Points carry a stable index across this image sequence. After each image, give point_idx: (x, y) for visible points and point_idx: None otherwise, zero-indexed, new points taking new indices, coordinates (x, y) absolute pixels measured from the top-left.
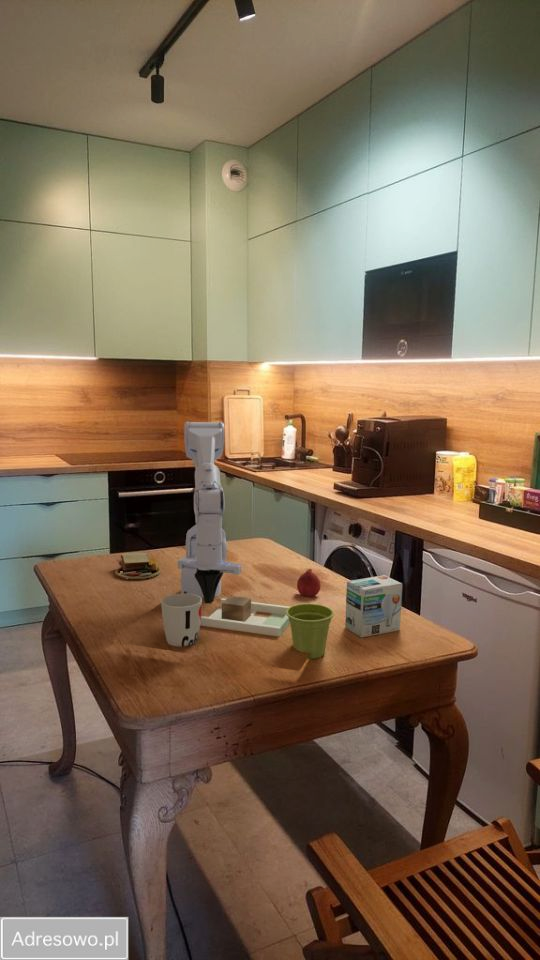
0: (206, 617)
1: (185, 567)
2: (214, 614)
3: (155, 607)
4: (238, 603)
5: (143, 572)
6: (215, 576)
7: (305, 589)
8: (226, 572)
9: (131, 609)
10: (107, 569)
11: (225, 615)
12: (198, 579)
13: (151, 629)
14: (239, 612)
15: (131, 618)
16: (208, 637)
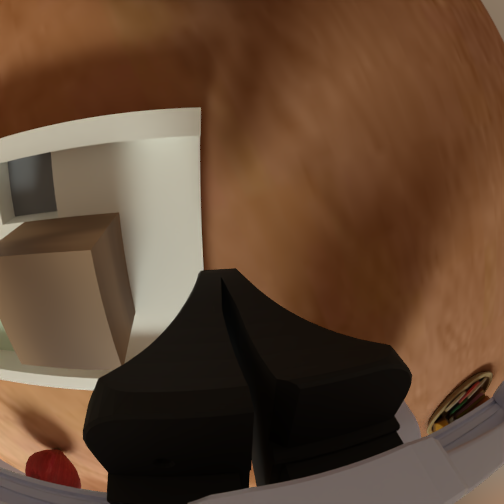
0: (159, 125)
1: (482, 410)
2: (189, 269)
3: (432, 280)
4: (12, 282)
5: (456, 404)
6: (86, 420)
7: (39, 464)
8: (42, 484)
9: (478, 239)
10: (493, 381)
11: (90, 223)
12: (338, 345)
13: (398, 88)
14: (12, 239)
15: (470, 173)
16: (132, 72)
